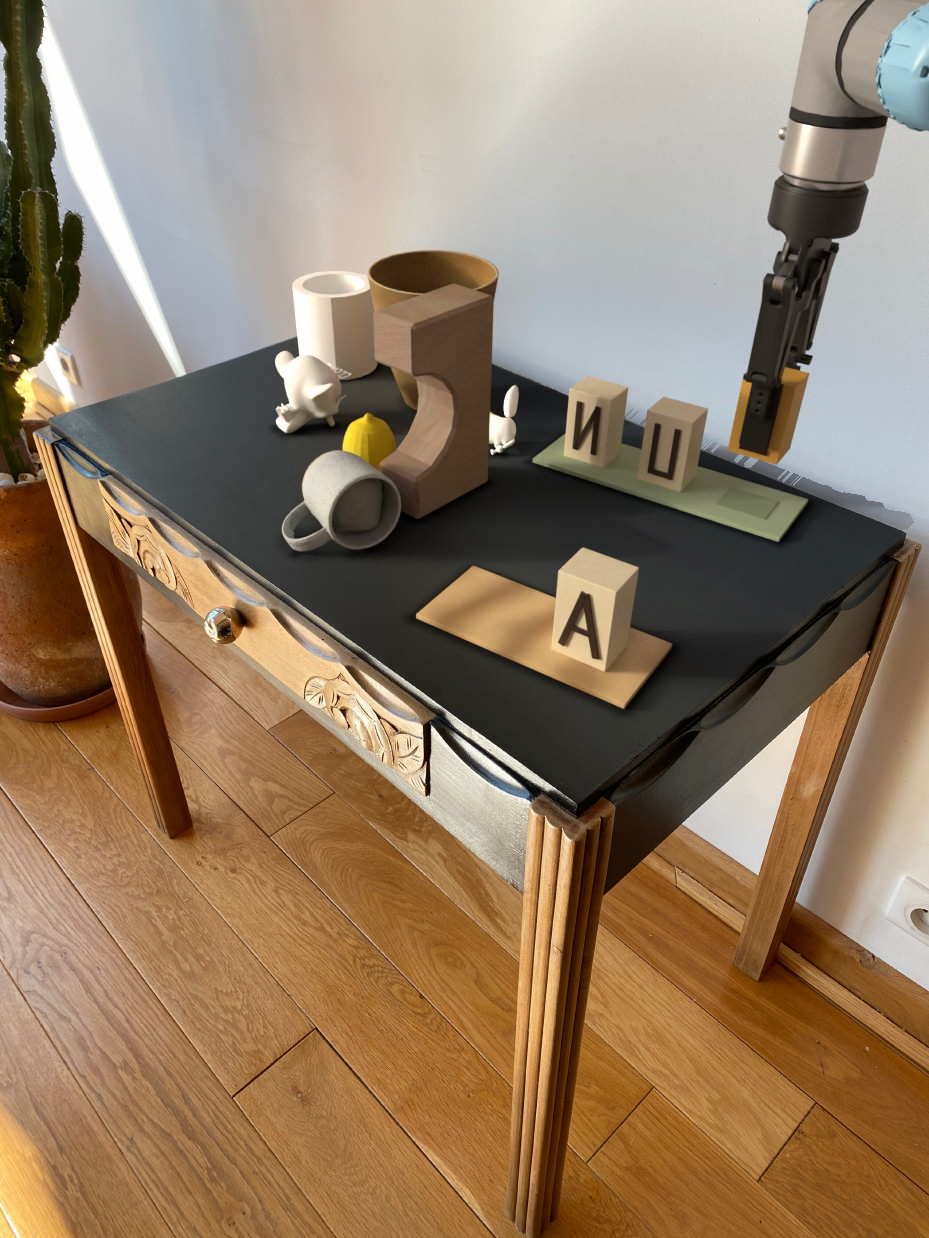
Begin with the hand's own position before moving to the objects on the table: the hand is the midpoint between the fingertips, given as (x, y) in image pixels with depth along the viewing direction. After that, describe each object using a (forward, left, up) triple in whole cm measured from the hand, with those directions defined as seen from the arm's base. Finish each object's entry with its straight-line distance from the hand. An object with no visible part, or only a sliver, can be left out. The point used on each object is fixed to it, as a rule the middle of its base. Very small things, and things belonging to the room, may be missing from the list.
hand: (762, 435), depth 91 cm
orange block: (0, 0, -2) cm, 2 cm away
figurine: (+49, +11, -8) cm, 51 cm away
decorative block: (+28, +16, -8) cm, 33 cm away
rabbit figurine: (+29, +2, -8) cm, 30 cm away
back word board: (+9, 0, -8) cm, 12 cm away
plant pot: (+41, -2, -8) cm, 42 cm away
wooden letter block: (+18, 0, -8) cm, 20 cm away
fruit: (+35, +18, -8) cm, 40 cm away
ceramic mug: (+31, +28, -8) cm, 43 cm away
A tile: (+2, +30, -8) cm, 31 cm away
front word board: (+7, +30, -8) cm, 32 cm away
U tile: (+9, 0, -8) cm, 12 cm away
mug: (+58, -5, -8) cm, 59 cm away
